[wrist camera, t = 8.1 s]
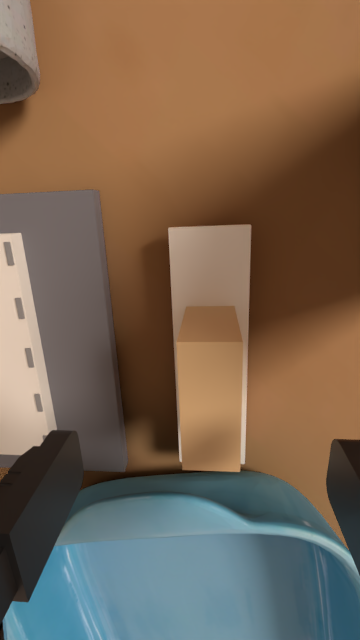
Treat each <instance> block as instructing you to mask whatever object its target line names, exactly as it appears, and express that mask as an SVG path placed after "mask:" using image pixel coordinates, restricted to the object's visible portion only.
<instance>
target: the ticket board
mask: <svg viewBox="0 0 360 640" xmlns="http://www.w3.org/2000/svg"><path fill="white" fill-rule="evenodd" d="M52 430H70V431H76V432H77V433H78V437H79V443H80V449H81V455H82V461H83V468H84V470H85V471H111V472H125V470H126V467H127V464H128V455H127V445H126V436H125V427H124V417H123V408H122V399H121V390H120V380H119V371H118V362H117V352H116V343H115V334H114V325H113V315H112V306H111V297H110V287H109V278H108V269H107V260H106V250H105V241H104V232H103V222H102V213H101V204H100V195H99V191H97V190H76V191H56V192H36V193H16V194H0V467H8V468H11V467H12V466H13V464H14V463H15V462H16V460H17V459H18V458H19V457H20V456H21V455H23V454H24V453H25V452H27V451H28V450H29V449H30V448H32V447H33V446H40V445H41V444H42V442H43V441H44V439H45V438H46V437H47V435H48V434H49V433H50V432H51V431H52Z"/></svg>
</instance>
